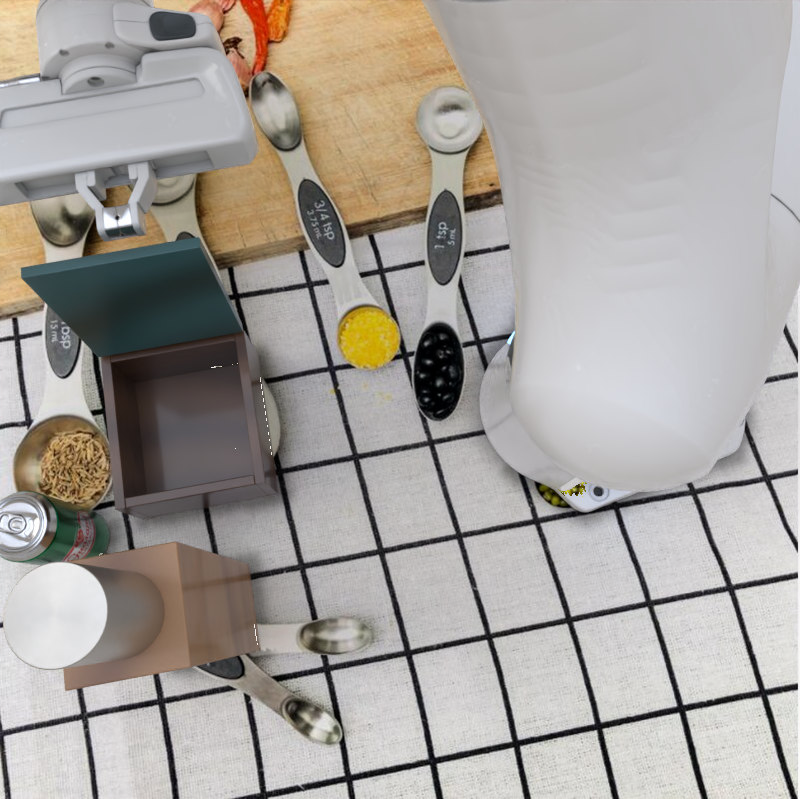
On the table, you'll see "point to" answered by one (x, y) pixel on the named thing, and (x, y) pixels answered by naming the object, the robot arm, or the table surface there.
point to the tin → (81, 615)
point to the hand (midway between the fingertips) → (122, 235)
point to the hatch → (137, 296)
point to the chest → (187, 426)
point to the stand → (181, 612)
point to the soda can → (49, 530)
